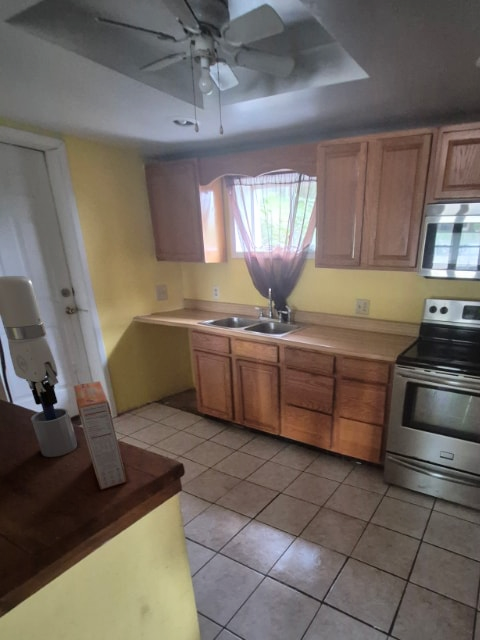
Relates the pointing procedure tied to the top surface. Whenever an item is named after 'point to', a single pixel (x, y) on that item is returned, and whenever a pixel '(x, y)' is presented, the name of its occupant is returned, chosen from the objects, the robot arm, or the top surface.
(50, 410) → the marker
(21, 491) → the top surface
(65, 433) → the pen pot
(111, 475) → the cracker box
